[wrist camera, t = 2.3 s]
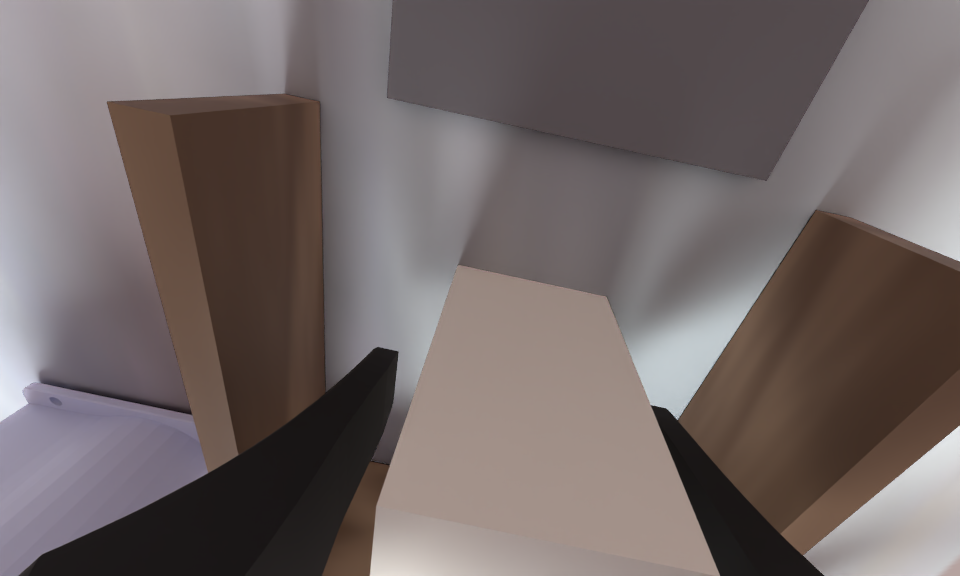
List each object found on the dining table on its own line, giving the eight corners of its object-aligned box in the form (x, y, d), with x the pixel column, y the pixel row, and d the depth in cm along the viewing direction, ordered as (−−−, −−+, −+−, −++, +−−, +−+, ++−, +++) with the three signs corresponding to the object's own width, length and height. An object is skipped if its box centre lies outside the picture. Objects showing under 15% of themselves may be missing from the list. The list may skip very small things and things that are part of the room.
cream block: (437, 377, 15) (363, 643, 8) (458, 264, 12) (376, 505, 5) (561, 403, 15) (599, 691, 8) (606, 296, 12) (720, 576, 5)
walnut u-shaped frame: (306, 461, 18) (237, 582, 14) (284, 93, 10) (106, 101, 6) (629, 528, 18) (664, 669, 14) (850, 217, 10) (1092, 315, 6)
